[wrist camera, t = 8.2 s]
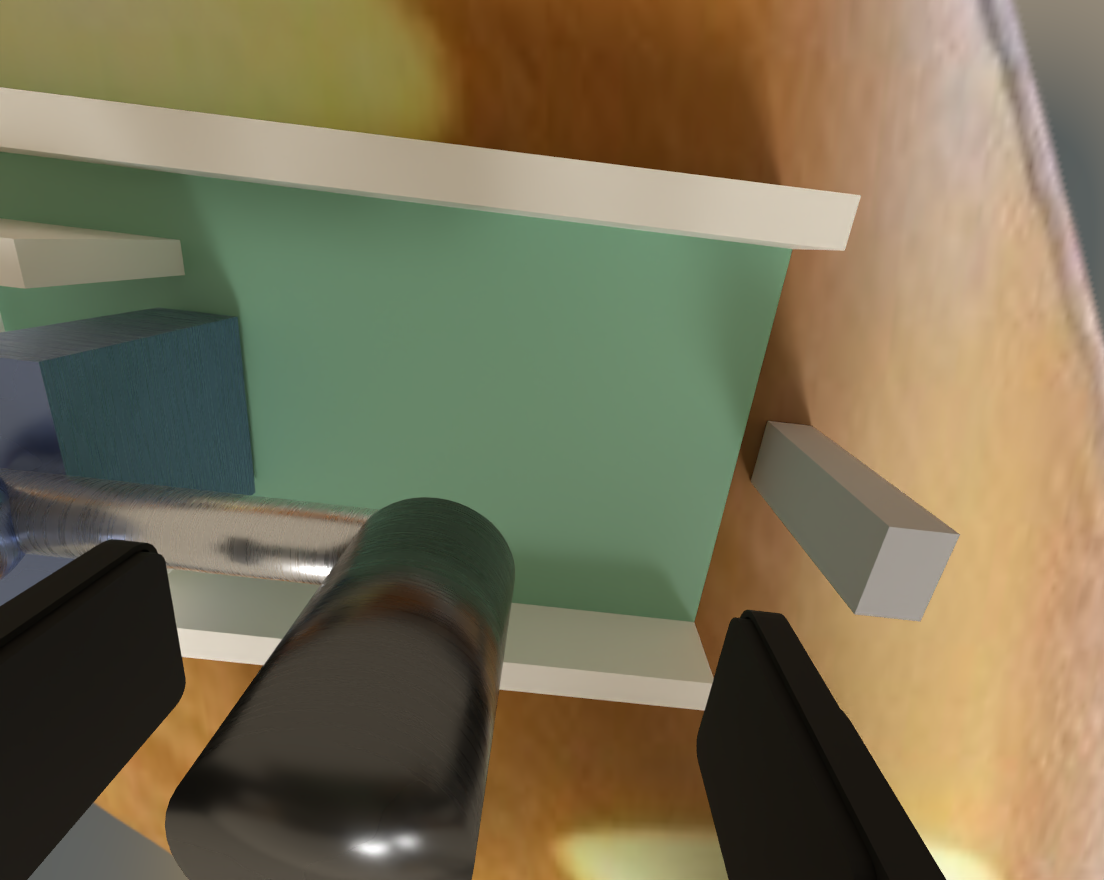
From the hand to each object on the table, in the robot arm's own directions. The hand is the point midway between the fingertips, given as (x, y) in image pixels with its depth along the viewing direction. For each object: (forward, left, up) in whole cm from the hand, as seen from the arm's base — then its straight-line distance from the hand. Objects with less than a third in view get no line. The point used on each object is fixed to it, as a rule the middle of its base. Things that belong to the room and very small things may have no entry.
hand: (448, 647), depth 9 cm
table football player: (+5, 0, -9) cm, 10 cm away
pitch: (+3, 0, -11) cm, 11 cm away
